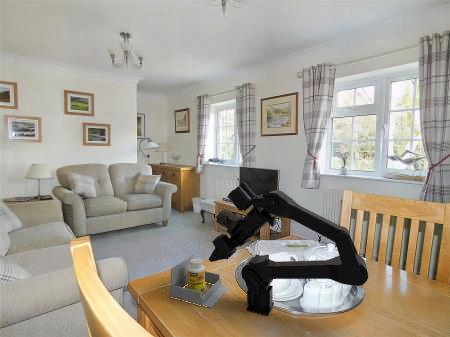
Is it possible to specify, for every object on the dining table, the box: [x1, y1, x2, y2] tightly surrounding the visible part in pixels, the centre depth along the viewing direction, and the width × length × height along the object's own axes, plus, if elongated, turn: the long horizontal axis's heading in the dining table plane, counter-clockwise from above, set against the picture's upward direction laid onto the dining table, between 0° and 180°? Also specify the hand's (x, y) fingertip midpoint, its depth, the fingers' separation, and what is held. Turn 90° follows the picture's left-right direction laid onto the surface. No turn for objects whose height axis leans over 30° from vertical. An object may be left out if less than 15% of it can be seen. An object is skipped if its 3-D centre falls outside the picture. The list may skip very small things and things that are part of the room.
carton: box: [169, 254, 230, 309], centre depth 84 cm, size 14×13×9 cm
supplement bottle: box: [187, 257, 206, 295], centre depth 85 cm, size 6×6×10 cm
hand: (216, 255), depth 81 cm, fingers open, 9 cm apart
